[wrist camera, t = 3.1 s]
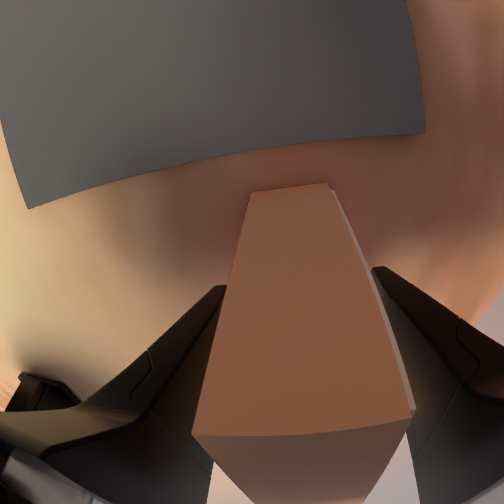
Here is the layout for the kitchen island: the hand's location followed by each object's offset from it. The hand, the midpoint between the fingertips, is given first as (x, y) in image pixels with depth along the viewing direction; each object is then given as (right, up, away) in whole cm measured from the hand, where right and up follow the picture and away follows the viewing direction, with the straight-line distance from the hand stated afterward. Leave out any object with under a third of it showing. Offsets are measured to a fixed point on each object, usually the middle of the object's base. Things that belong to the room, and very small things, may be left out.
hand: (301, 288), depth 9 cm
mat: (-4, +8, -2) cm, 10 cm away
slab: (0, +1, +2) cm, 2 cm away
